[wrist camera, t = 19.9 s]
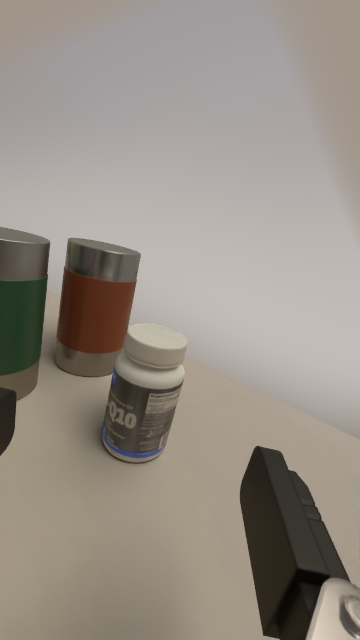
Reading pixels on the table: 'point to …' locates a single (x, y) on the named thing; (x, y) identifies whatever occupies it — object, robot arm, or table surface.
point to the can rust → (94, 306)
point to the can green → (21, 307)
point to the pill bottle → (144, 392)
